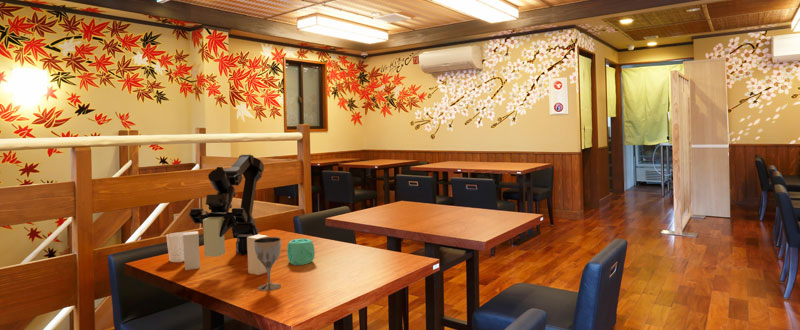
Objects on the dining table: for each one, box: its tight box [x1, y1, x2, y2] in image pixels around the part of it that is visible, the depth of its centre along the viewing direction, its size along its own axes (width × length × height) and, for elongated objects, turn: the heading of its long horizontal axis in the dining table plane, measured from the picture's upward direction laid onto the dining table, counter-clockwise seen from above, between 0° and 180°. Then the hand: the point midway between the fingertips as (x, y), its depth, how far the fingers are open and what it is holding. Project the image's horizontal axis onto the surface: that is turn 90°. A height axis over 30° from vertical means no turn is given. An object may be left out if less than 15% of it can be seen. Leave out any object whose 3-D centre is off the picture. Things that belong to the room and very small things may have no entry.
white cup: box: [165, 231, 184, 263], centre depth 190 cm, size 8×8×10 cm
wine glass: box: [254, 236, 282, 292], centre depth 155 cm, size 8×8×15 cm
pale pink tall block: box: [182, 230, 201, 271], centre depth 180 cm, size 5×5×12 cm
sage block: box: [202, 217, 226, 258], centre depth 170 cm, size 5×5×12 cm
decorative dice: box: [286, 238, 315, 266], centre depth 184 cm, size 8×8×8 cm
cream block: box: [247, 233, 269, 276], centre depth 172 cm, size 5×5×12 cm
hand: (212, 236), depth 168 cm, fingers closed on sage block, 5 cm apart
